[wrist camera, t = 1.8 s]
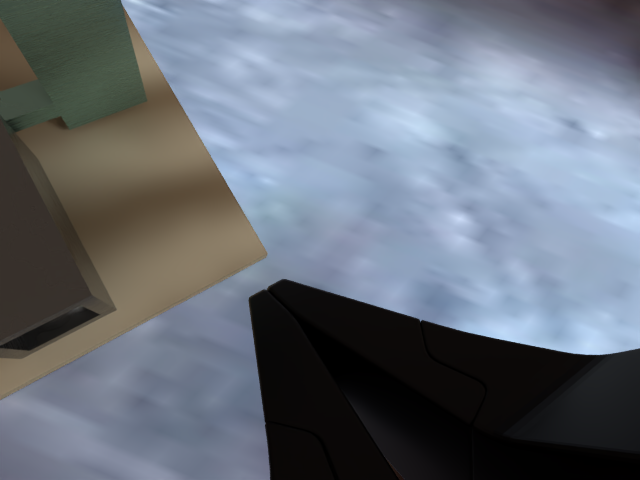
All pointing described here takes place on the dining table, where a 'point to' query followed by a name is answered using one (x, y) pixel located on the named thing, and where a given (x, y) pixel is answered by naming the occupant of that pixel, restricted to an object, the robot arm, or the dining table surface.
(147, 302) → the birch board
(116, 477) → the dining table surface
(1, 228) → the sleeve
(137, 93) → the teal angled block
